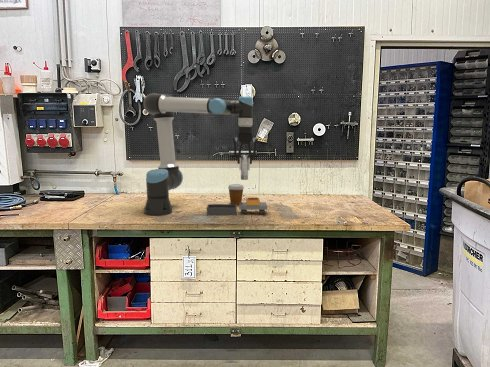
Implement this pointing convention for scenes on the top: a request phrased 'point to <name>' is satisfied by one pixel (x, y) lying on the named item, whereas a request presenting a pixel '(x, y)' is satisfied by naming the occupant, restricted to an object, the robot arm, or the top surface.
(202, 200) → the top surface
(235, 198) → the disposable coffee cup
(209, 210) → the pin tray
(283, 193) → the top surface
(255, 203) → the plate with orange frame
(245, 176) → the pin
